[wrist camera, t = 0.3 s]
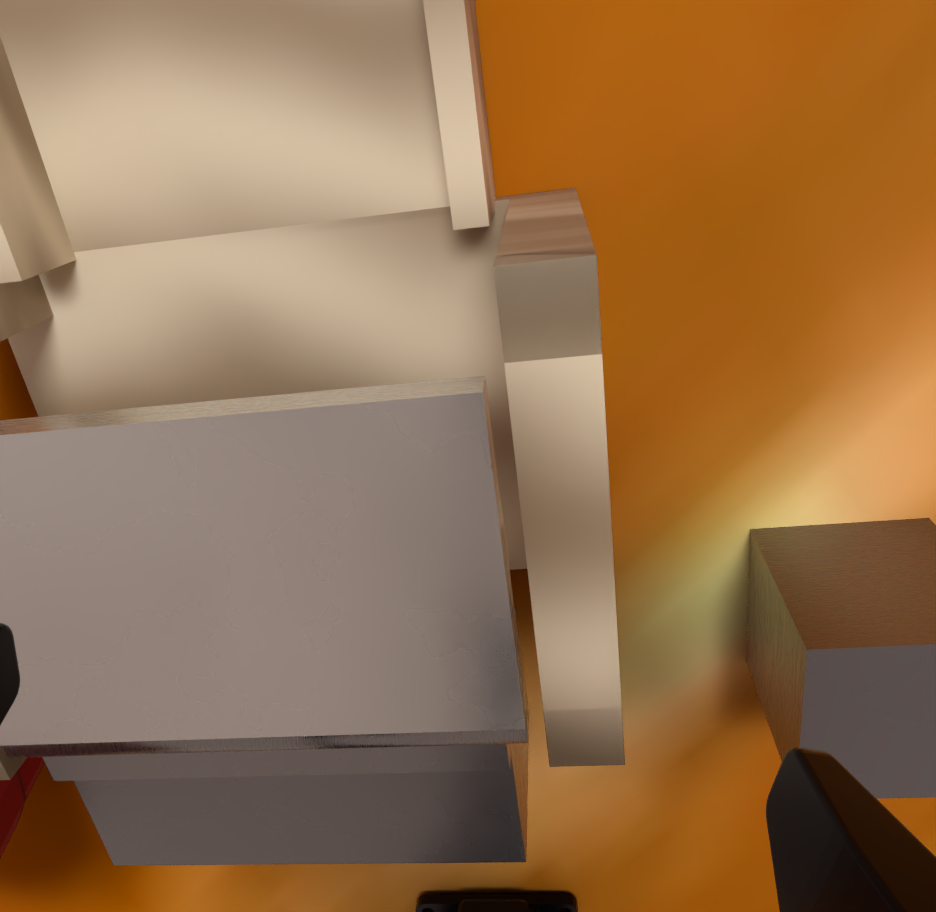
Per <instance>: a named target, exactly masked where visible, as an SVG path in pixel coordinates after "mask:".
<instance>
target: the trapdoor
mask: <svg viewBox="0 0 936 912" xmlns="http://www.w3.org/2000/svg"><path fill="white" fill-rule="evenodd" d="M0 623H3V624H5V625H8V626H9V627H10V629H11V630H12V632H13V636H14V642H15V649H16V655H17V661H18V667H19V673H20V687H19V691H18V694H17V697H16V699H15V701H14V703H13V705H12V706H11V708H10V710H9V711H8V713H7V715H6V717H5V718H4V720H3V722H2V724H1V725H0V746H3V745H4V751H5V753H6V755H7V756H8V757H10V758H26V757H42V758H43V760H44V762H45V764H46V766H47V768H48V770H49V772H50V774H51V776H52V778H53V780H54V781H74V783H75V785H76V787H77V789H78V791H79V793H80V796H81V798H82V800H83V802H84V804H85V806H86V808H87V810H88V812H89V814H90V816H91V818H92V821H93V823H94V825H95V827H96V829H97V831H98V833H99V835H100V837H101V839H102V841H103V843H104V846H105V848H106V850H107V852H108V854H109V856H110V858H111V860H112V862H113V864H114V866H116V865H237V864H357V863H478V862H526V846H527V794H528V742H529V709H528V701H527V693H526V685H525V677H524V669H523V661H522V653H521V644H520V636H519V628H518V620H517V612H516V607H514V601H513V593H512V585H511V577H510V569H509V561H508V553H507V545H506V537H505V529H504V521H503V513H502V505H501V497H500V489H499V481H498V473H497V465H496V457H495V449H494V441H493V433H492V425H491V417H490V409H489V401H488V393H487V385H486V377H485V376H477V377H466V378H455V379H444V380H433V381H422V382H411V383H401V384H390V385H379V386H368V387H357V388H346V389H335V390H324V391H313V392H303V393H292V394H281V395H270V396H259V397H248V398H237V399H226V400H216V401H205V402H194V403H183V404H172V405H161V406H150V407H139V408H129V409H118V410H107V411H96V412H85V413H74V414H63V415H52V416H41V417H31V418H20V419H9V420H0Z"/></svg>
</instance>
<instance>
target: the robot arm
mask: <svg viewBox="0 0 936 912" xmlns="http://www.w3.org/2000/svg"><path fill="white" fill-rule="evenodd" d="M19 687H20V673H19V667H18V661H17V655H16V649H15V642H14V636H13V632H12V630H11V629H10V627H9V626H8V625H5V624H3V623H0V725H1V724H2V722H3V720H4V718H5V717H6V715H7V713H8V711H9V710H10V708H11V706H12V705H13V703H14V701H15V699H16V697H17V694H18V691H19ZM766 820H767V827H768V834H769V841H770V848H771V855H772V861H773V868H774V875H775V882H776V889H777V896H778V903H779V910H780V912H936V857H935V856H934V855H933V854H932V853H931V852H930V851H929V850H928V849H927V848H926V847H925V846H924V845H923V844H922V843H921V842H920V841H919V840H918V839H917V838H916V837H915V836H914V835H913V834H912V833H911V832H910V831H909V830H908V829H907V828H906V827H905V826H904V825H903V824H902V823H901V822H900V821H899V820H898V819H897V818H895V817H894V816H893V815H892V814H891V813H890V812H889V811H888V810H887V809H886V808H885V807H884V806H883V805H882V804H881V803H880V802H879V801H878V800H877V799H876V798H875V797H874V796H873V795H872V794H871V793H870V792H869V791H868V790H867V789H866V788H865V787H864V786H863V785H862V784H861V783H860V782H859V781H858V780H857V779H856V778H855V777H854V776H853V775H852V774H851V773H850V772H849V771H848V770H847V769H846V768H845V767H844V766H843V765H842V764H840V763H839V762H838V761H837V760H836V759H835V758H834V757H833V756H832V755H831V754H829V753H827V752H824V751H819V750H813V749H806V748H800V747H794V748H791V749H790V750H789V751H788V752H787V753H786V755H785V756H784V759H783V761H782V764H781V766H780V768H779V771H778V773H777V776H776V778H775V781H774V783H773V785H772V788H771V790H770V793H769V795H768V799H767V804H766ZM416 912H578V905H577V900H576V899H575V898H574V897H573V896H570V895H567V894H432V895H422V896H420V897H419V898H418V901H417V907H416Z"/></svg>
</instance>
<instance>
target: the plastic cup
mask: <svg viewBox="0 0 936 912" xmlns="http://www.w3.org/2000/svg"><path fill="white" fill-rule="evenodd" d="M44 763H45V762H44V760H43V758H42V757H27V758H26V760H25V761H24V762H23V764H22V765H21V766H20V768H19V769H18V770H17V772H16V773H15V774H14V776H13V777H12V778H11V780H0V858H1V856H2V854H3V852H4V850H5V848H6V846H7V844H8V842H9V840H10V838H11V835H12V833H13V831H14V829H15V827H16V825H17V823H18V821H19V818H20V815H21V812H22V809H23V806H24V803H25V801H26V799H27V797H28V795H29V793H30V791H31V789H32V787H33V785H34V783H35V781H36V779H37V777H38V775H39V773H40V771H41V769H42V767H43V765H44Z"/></svg>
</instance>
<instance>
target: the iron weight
mask: <svg viewBox="0 0 936 912" xmlns="http://www.w3.org/2000/svg"><path fill="white" fill-rule="evenodd" d="M746 662H747V665H748V668H749V670H750V673H751V676H752V679H753V682H754V685H755V687H756V690H757V693H758V696H759V699H760V701H761V704H762V707H763V710H764V713H765V715H766V718H767V721H768V724H769V727H770V730H771V732H772V735H773V738H774V741H775V744H776V746H777V749H778V752H779V755H780V758H781V761H783V759H784V756H785V755H786V753H787V752H788V751H789V750H790V749H791V748H794V747H800V748H806V749H813V750H819V751H824V752H827V753H829V754H831V755H832V756H833V757H834V758H835V759H836V760H837V761H838V762H839V763H840V764H842V765H843V766H844V767H845V768H846V769H847V770H848V771H849V772H850V773H851V774H852V775H853V776H854V777H855V778H856V779H857V780H858V781H859V782H860V783H861V784H862V785H863V786H864V787H865V788H866V789H867V790H868V791H869V792H870V793H871V794H872V795H873V796H874V797H875V798H922V797H936V525H935V524H934V523H933V522H932V521H931V520H930V519H929V518H921V519H905V520H889V521H873V522H857V523H841V524H826V525H810V526H794V527H778V528H762V529H750V553H749V583H748V614H747V644H746Z"/></svg>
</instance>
